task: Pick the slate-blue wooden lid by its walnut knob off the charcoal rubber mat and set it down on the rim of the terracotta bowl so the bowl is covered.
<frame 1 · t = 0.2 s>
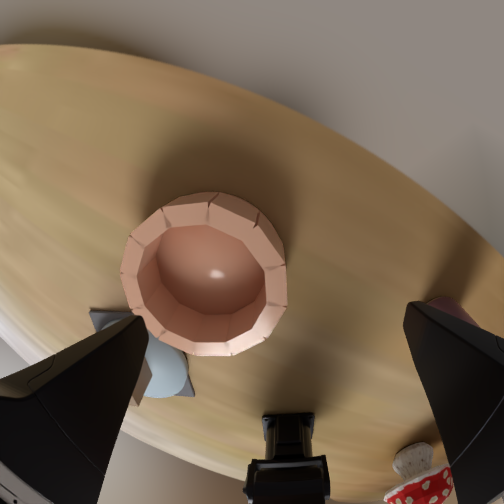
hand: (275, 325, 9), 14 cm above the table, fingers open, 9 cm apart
mat: (142, 356, 29), on the table
lid: (141, 358, 28), resting on mat
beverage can: (433, 317, 25), on the table
decorative mushroom: (410, 450, 35), on the table
bowl: (212, 262, 24), on the table
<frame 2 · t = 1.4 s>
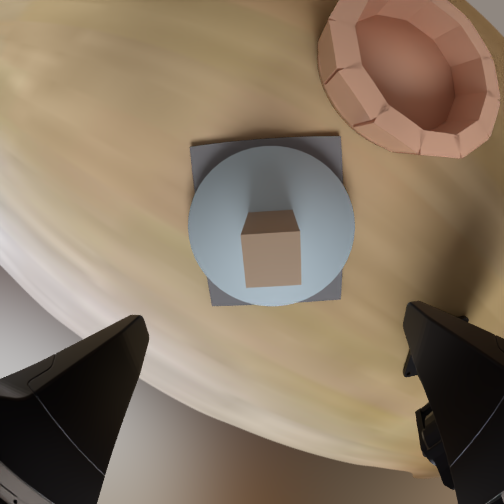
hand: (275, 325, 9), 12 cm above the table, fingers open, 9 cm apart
mat: (271, 225, 20), on the table
lid: (271, 227, 19), resting on mat
bowl: (397, 73, 15), on the table
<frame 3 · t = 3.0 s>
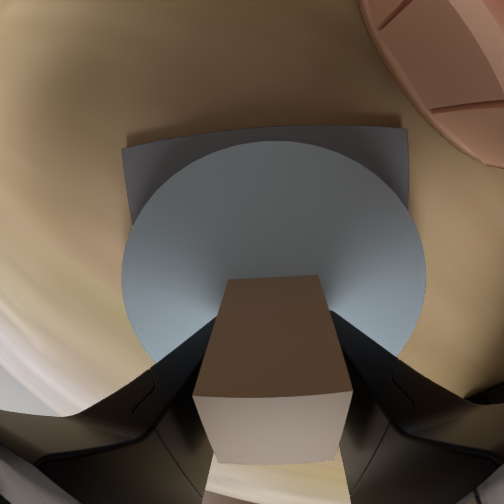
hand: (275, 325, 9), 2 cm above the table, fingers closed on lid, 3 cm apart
mat: (274, 292, 11), on the table
lid: (274, 297, 10), resting on mat, touching gripper
bowl: (477, 39, 6), on the table
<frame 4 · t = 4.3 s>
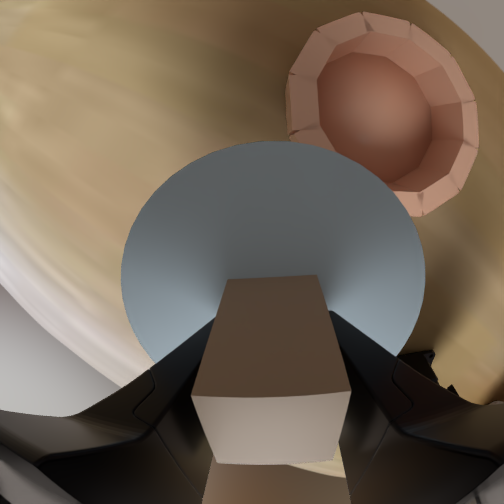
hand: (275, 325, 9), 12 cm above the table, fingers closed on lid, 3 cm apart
lid: (274, 297, 10), point 10 cm above the table, touching gripper
bowl: (370, 116, 17), on the table
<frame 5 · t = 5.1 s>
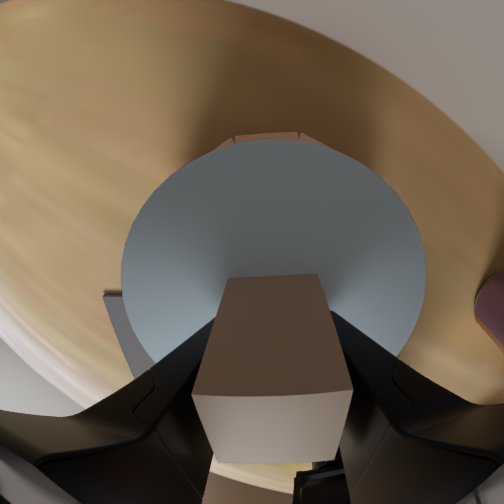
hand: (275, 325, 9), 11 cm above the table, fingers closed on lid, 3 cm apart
mat: (169, 351, 24), on the table
lid: (274, 296, 10), point 10 cm above the table, touching gripper
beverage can: (490, 295, 20), on the table
bowl: (273, 226, 19), on the table
when the fingers open (8 cm above the table, at t = 5.8 s): lid drops 1 cm, resting on bowl.
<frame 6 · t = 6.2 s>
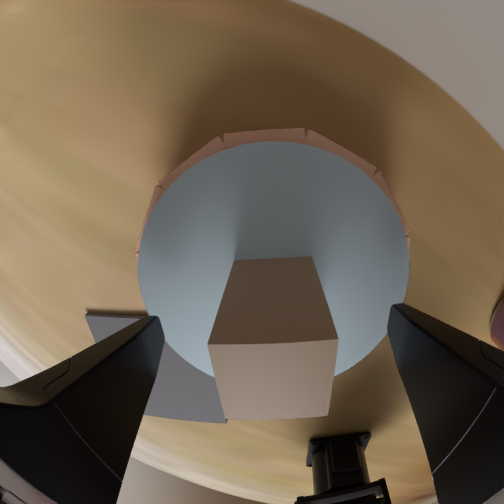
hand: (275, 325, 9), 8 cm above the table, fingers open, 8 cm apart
mat: (159, 374, 21), on the table
lid: (274, 278, 12), point 5 cm above the table, touching bowl
bowl: (273, 241, 16), on the table
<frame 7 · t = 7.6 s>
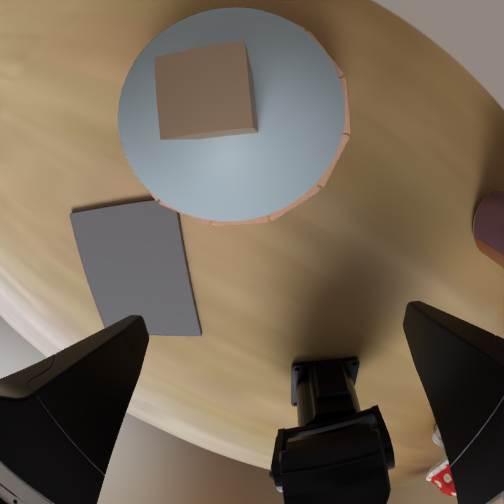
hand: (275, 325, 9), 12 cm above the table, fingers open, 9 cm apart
mat: (133, 274, 22), on the table
lid: (228, 109, 13), point 5 cm above the table, touching bowl
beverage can: (489, 220, 19), on the table
decorative mushroom: (450, 418, 30), on the table
bowl: (238, 118, 17), on the table
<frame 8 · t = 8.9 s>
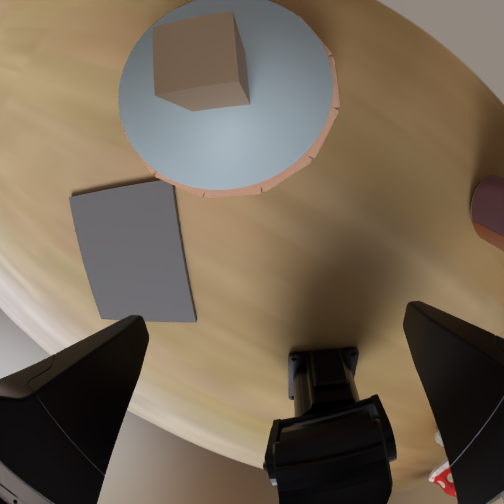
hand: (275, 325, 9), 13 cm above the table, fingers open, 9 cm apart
mat: (129, 258, 22), on the table
lid: (222, 86, 13), point 5 cm above the table, touching bowl
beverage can: (487, 206, 18), on the table
decorative mushroom: (453, 417, 29), on the table
bowl: (234, 101, 18), on the table
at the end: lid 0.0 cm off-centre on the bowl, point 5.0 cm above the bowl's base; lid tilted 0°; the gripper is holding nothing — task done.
